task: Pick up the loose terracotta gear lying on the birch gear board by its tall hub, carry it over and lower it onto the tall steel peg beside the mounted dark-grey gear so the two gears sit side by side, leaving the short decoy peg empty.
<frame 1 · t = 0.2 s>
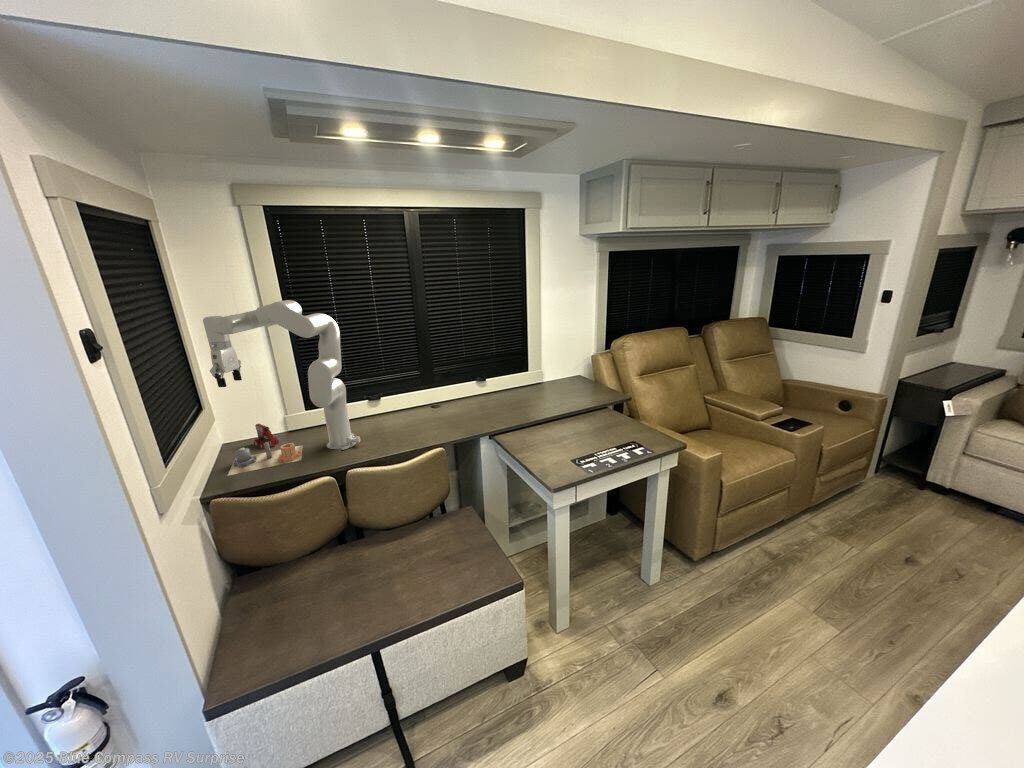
hand: (230, 383, 169), 31 cm above the counter, fingers open, 9 cm apart
gear board: (268, 461, 164), on the counter
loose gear: (290, 457, 164), point 1 cm above the counter, touching gear board
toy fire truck: (267, 446, 178), on the counter
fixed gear: (245, 462, 161), resting on gear board
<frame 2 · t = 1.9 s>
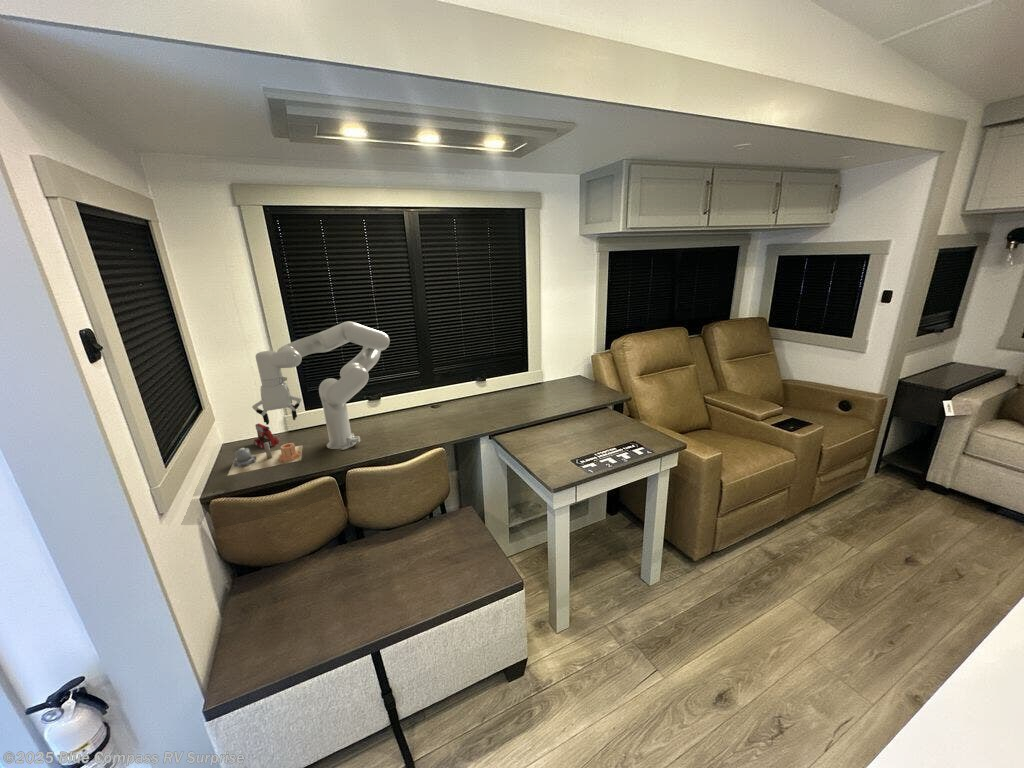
hand: (281, 421, 159), 18 cm above the counter, fingers open, 9 cm apart
nothing on the counter moved.
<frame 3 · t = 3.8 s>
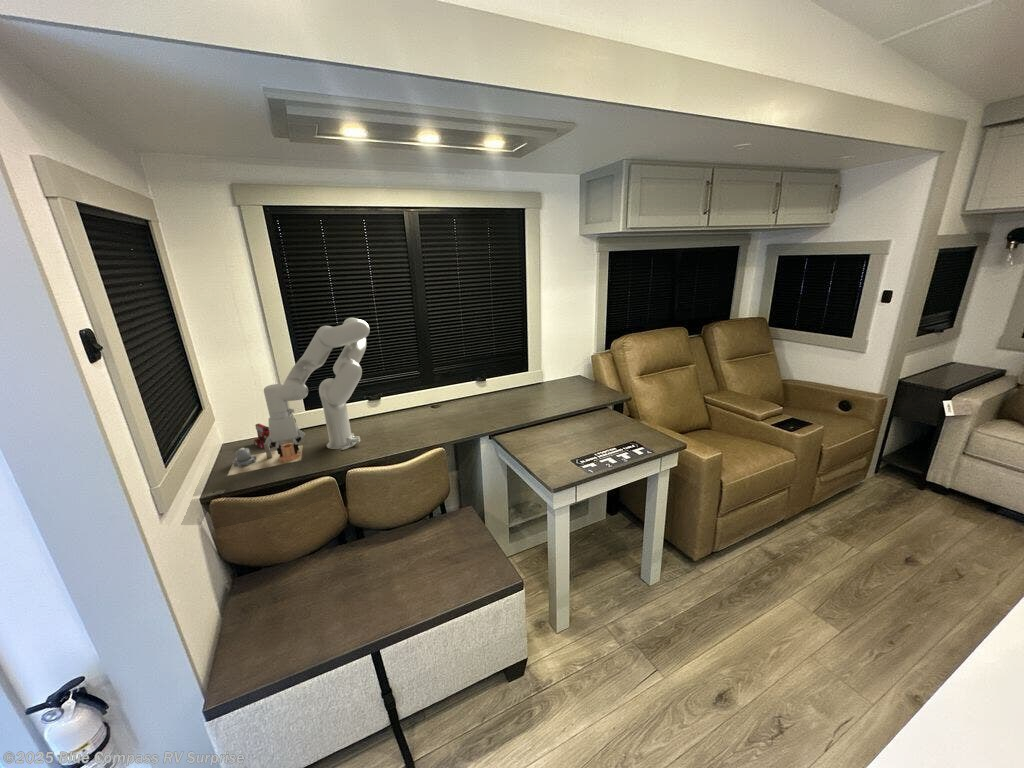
hand: (289, 453, 164), 3 cm above the counter, fingers closed on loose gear, 5 cm apart
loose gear: (290, 457, 164), point 1 cm above the counter, touching gear board, gripper
everything else where it was.
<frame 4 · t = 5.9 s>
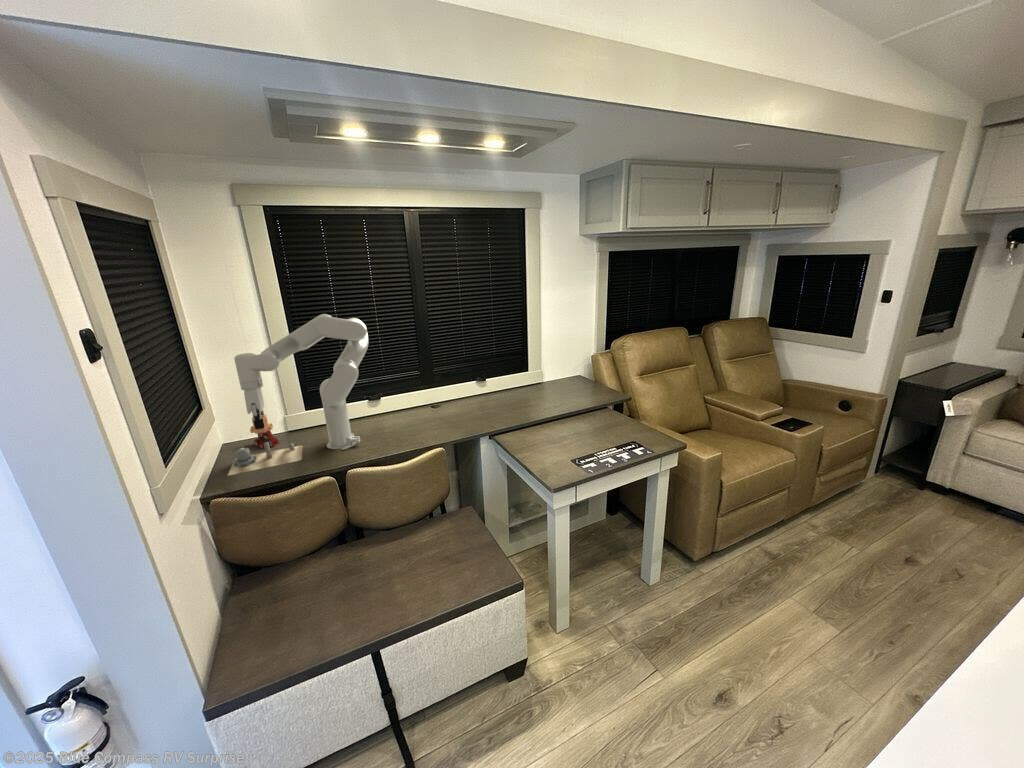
hand: (260, 425, 160), 16 cm above the counter, fingers closed on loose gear, 5 cm apart
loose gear: (261, 429, 160), point 14 cm above the counter, touching gripper
everything else where it was.
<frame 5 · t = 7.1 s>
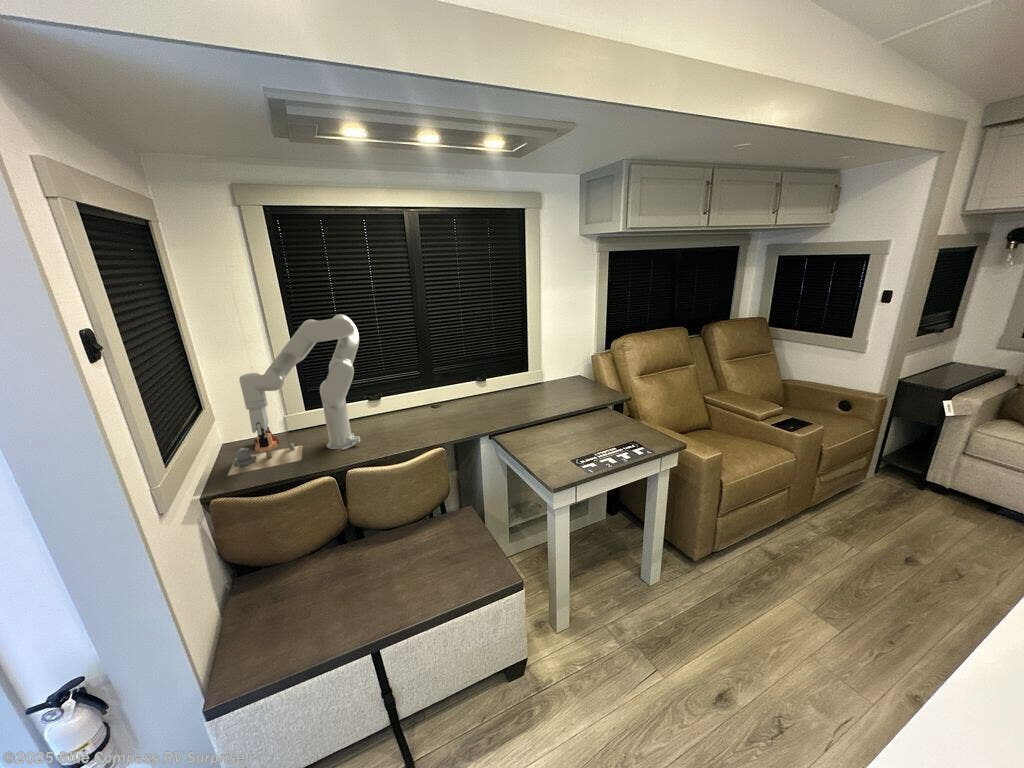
hand: (265, 443, 162), 8 cm above the counter, fingers closed on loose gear, 5 cm apart
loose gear: (266, 447, 163), point 6 cm above the counter, touching gripper
everything else where it was.
when the fingers open (5 cm above the counter, at t = 8.1 s): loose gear drops 2 cm, resting on gear board.
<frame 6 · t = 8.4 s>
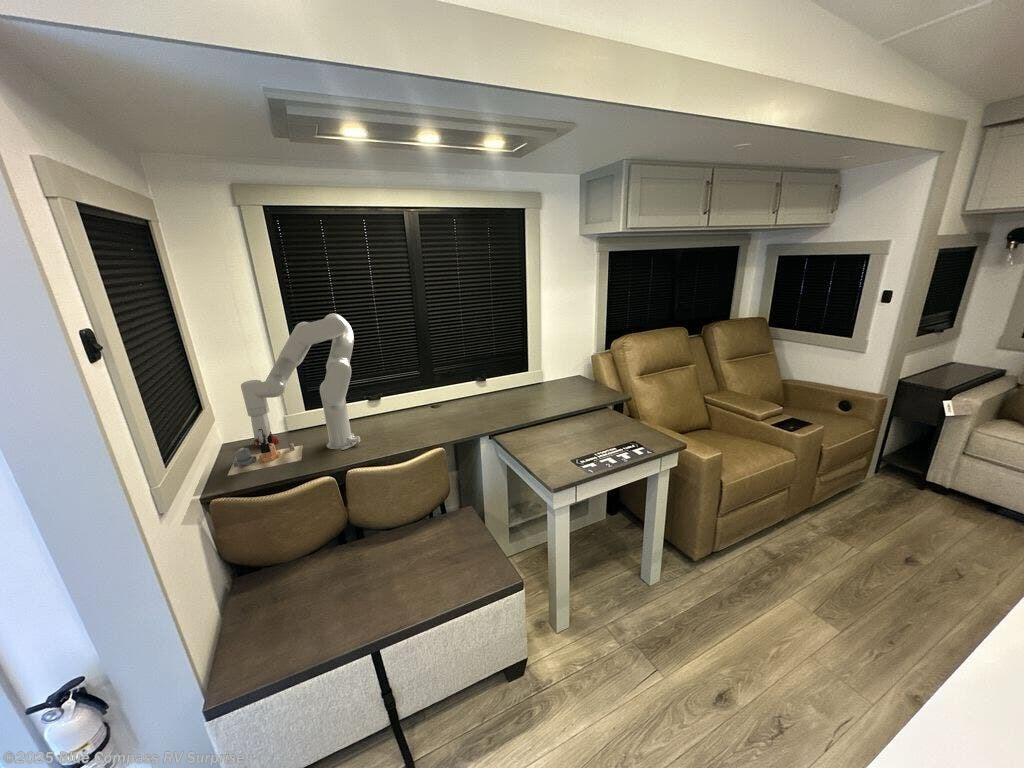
hand: (267, 448, 163), 6 cm above the counter, fingers open, 8 cm apart
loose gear: (270, 457, 164), point 1 cm above the counter, touching gear board
everything else where it was.
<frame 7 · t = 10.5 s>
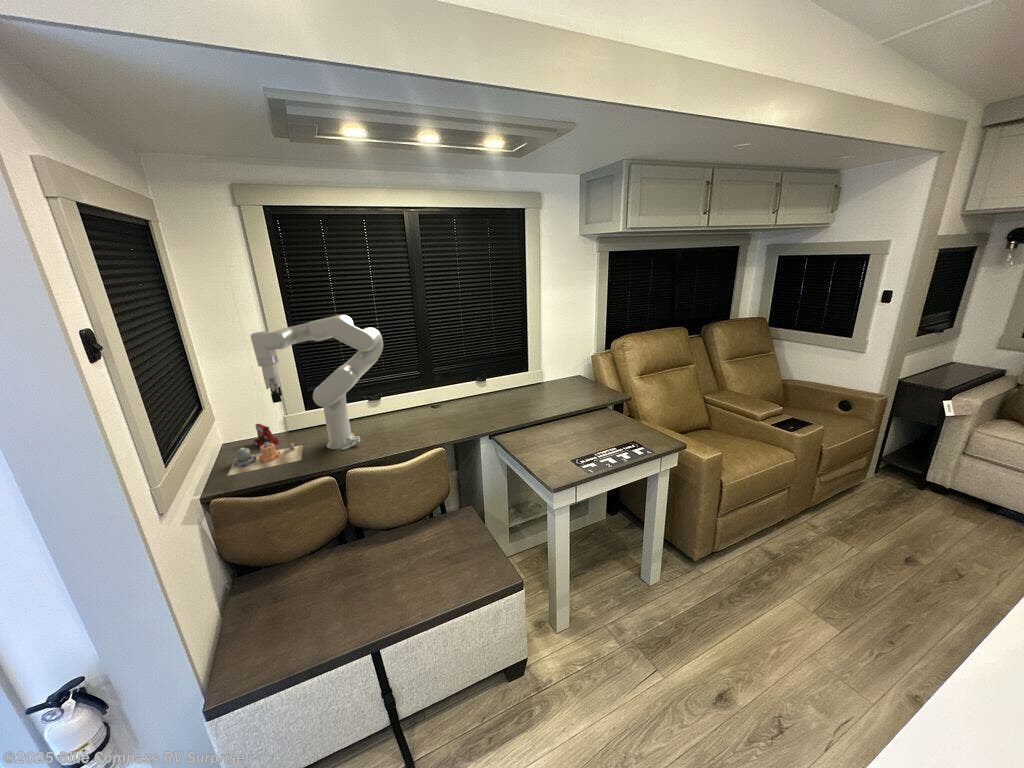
hand: (277, 399, 167), 24 cm above the counter, fingers open, 9 cm apart
nothing on the counter moved.
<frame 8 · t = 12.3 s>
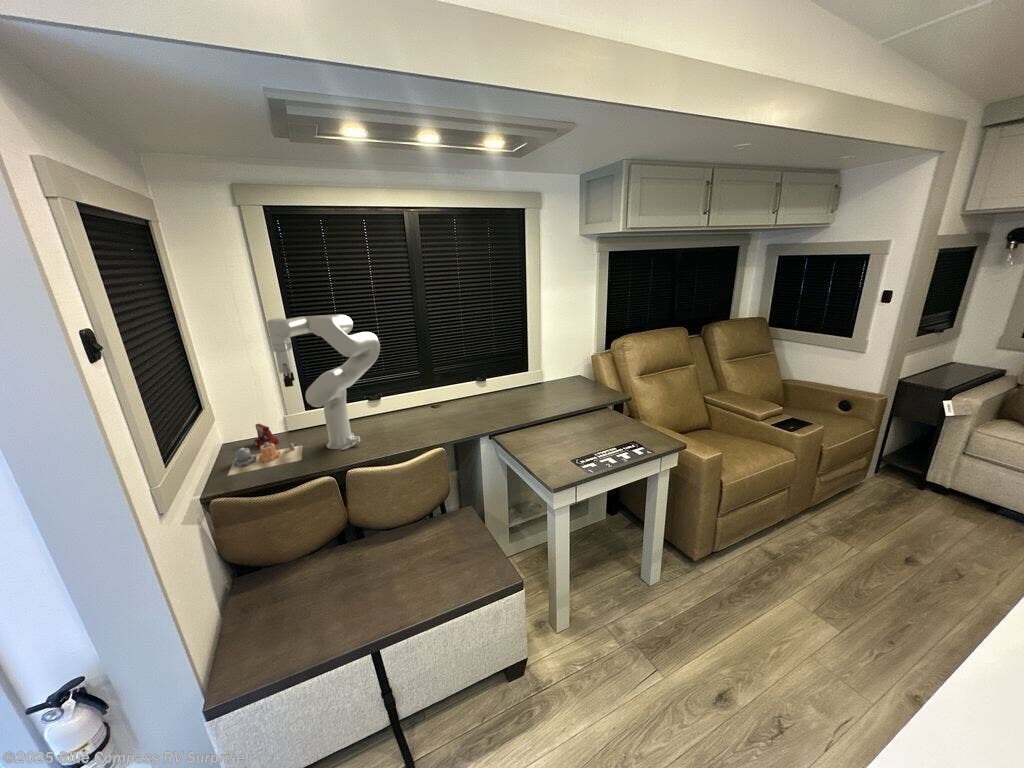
hand: (290, 383, 175), 28 cm above the counter, fingers open, 9 cm apart
nothing on the counter moved.
at the end: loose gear 0.2 cm from the target spot, point 1.2 cm above the counter; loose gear tilted 0°; the gripper is holding nothing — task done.
